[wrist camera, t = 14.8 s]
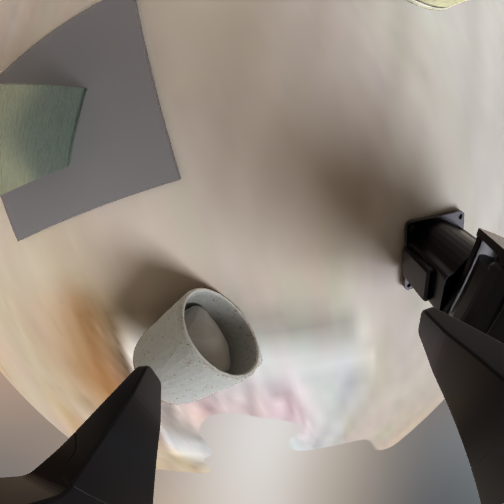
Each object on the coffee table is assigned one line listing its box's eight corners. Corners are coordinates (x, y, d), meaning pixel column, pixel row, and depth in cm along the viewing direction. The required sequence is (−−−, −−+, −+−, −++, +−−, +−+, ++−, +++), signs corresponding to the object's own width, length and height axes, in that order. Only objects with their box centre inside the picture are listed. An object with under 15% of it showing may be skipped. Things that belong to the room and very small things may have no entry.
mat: (133, -12, 11) (131, -14, 11) (180, 178, 18) (179, 179, 18) (-17, 95, 13) (-20, 95, 13) (20, 239, 20) (17, 241, 20)
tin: (87, 88, 15) (-32, 87, 5) (70, 165, 17) (-40, 217, 7) (34, 83, 14) (-72, 92, 4) (21, 153, 16) (-78, 193, 6)
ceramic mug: (140, 323, 24) (114, 387, 17) (192, 269, 22) (172, 339, 15) (224, 376, 28) (221, 438, 21) (283, 337, 25) (293, 406, 18)
